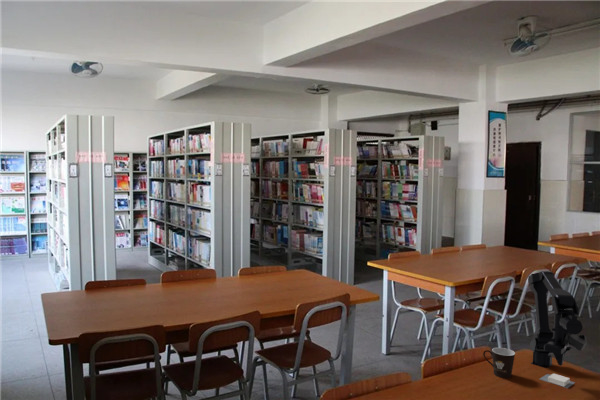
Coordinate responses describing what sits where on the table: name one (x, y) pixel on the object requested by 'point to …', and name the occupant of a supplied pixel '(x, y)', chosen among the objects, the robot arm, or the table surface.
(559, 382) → the tile
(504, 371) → the coffee mug
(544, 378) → the mat
